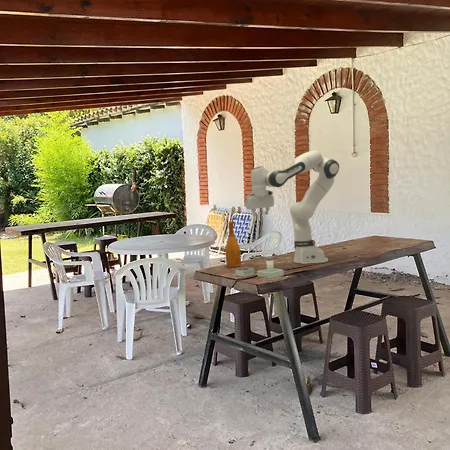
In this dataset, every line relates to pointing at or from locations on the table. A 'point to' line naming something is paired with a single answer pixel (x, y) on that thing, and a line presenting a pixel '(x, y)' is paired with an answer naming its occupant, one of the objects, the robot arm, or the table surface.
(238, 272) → the housing
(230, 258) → the wine bottle
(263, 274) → the tray
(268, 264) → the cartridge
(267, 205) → the robot arm
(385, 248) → the table surface
